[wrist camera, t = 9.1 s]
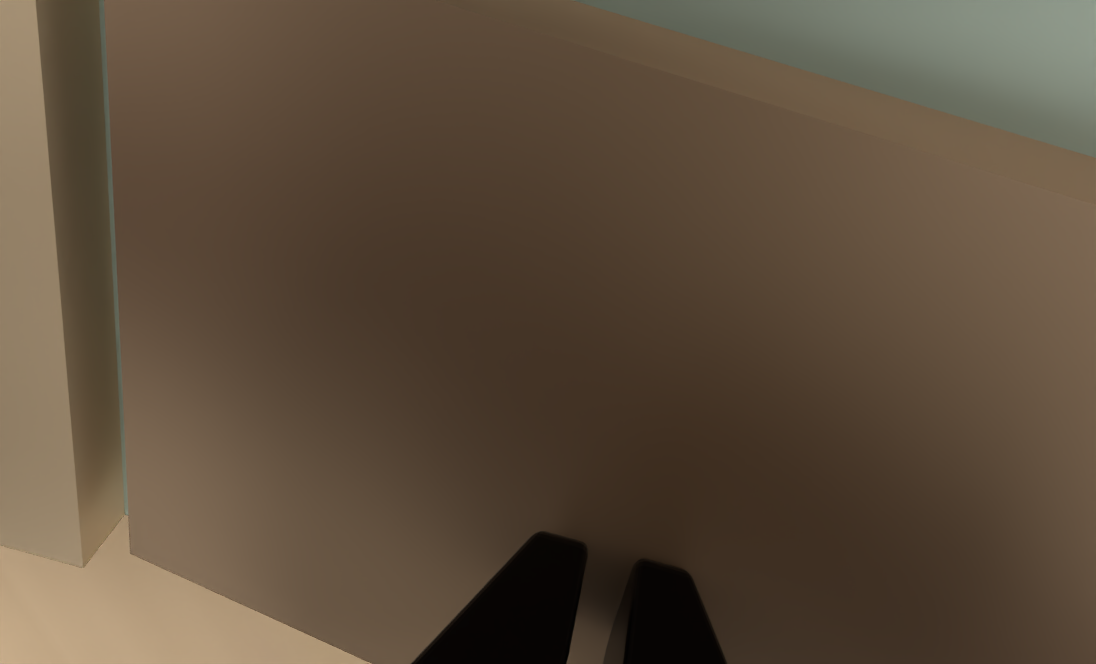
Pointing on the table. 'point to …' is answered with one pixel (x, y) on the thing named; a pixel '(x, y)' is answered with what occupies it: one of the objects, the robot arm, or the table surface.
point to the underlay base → (673, 3)
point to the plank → (595, 332)
